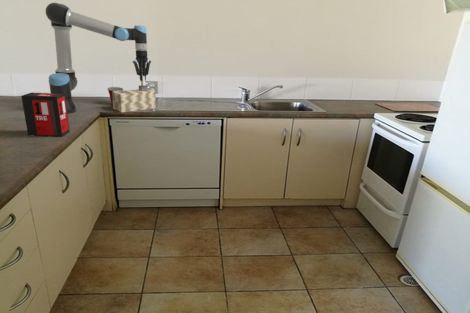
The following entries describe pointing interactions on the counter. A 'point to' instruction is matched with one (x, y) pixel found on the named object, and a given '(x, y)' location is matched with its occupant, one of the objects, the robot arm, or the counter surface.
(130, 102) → the collar block
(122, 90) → the plastic cup
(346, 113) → the counter surface
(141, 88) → the peg far
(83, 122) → the counter surface
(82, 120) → the counter surface
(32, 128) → the cleaning product box
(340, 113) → the counter surface
